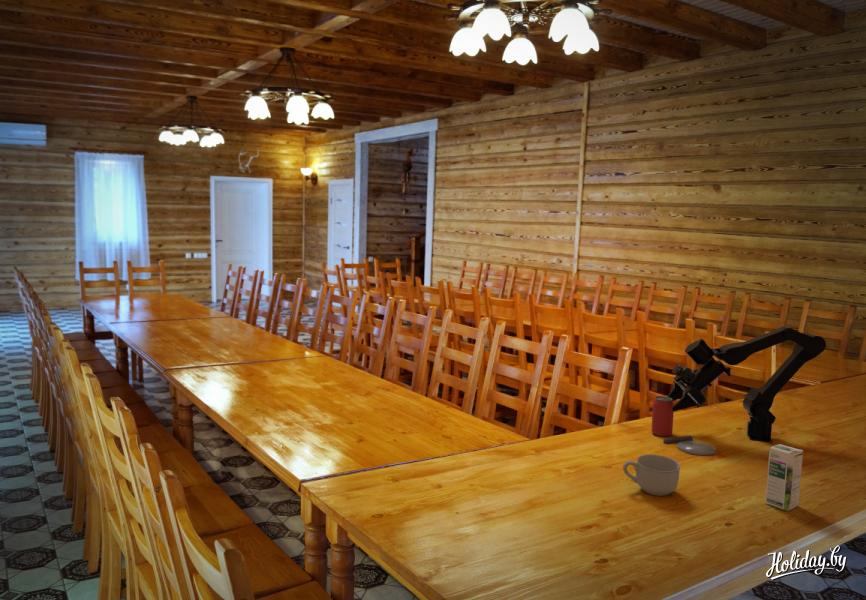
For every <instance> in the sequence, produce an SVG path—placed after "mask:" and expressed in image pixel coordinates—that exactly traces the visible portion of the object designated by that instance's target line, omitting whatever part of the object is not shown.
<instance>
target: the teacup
mask: <svg viewBox="0 0 866 600" xmlns="http://www.w3.org/2000/svg"><path fill="white" fill-rule="evenodd" d="M629 466H632V467H633V468H634V471H635V475H634V474H631V473H630V472H629V470H628V467H629ZM680 469H681V464H680V462H678V461H677V460H676V459H673V458H672V457H668V456H666V455H661V454H654V453H653V454H652V453H651V454H642V455H639V456H638V457H637V458H636V461H633V460H627V461H625V462H624V463H623V466H622V471H623V473H624V474H625V475H626V476H627V477H628V478H630V479H631V480H632V481H633V482H634V483H635V484H637V485H638V486H639V487H640V489H642V491H644V492H645V493H647V494H649V495H651V496H658V497H659V496H660V497H664V496H667V495H669V494H671V493H673V492H674V491H675V490H676V489H677V487H678V484H679V479H680Z"/></svg>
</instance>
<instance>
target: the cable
mask: <svg viewBox="0 0 866 600" xmlns="http://www.w3.org/2000/svg"><path fill="white" fill-rule="evenodd" d="M682 441H694V437H693V436H692V435H690V434H689V435H684V436H683V435H682V436H676V437H675V436H674V437H668V438H664V439H663V442H662V443H663V444H665V445H668V444H675V443H679V442H682Z"/></svg>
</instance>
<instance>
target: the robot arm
mask: <svg viewBox="0 0 866 600" xmlns="http://www.w3.org/2000/svg"><path fill="white" fill-rule="evenodd" d="M787 341H791V342H793V343H795V344H794V345H793V348H792V351H791V353H790V355H789V356H788V357H787V358H786V360H784V362H783V363H782V364H781V365H780V366H779V367H778V368H777V370H775V372H774V373H773V374H772V375H771V376H770V377H769V378H768V379H767V380H766V381H765V383H764V384H763V385H762V386H761V387H759V388H755V387H751V388H750V389H749V391H748V392H747V393H746V394H744V395H743V397H744V399H743V400H742V406H743V409H744V410H745V411H746V412H747V415H748V416H749V421H747V422H746V423H747V424H746V435H747V437H748V439H750V440H751V441H762V442H772V441H773V439H772V430H773V424H774V423H775V421H776V419H777V417H776V416H775V415H774V414H773V413H772V412H771V410H770V409H771V408H772V407H773V403H774V400H775V397H776V396H777V395H778V394H779V392H780V391H781V390H783V388H784V387H785V386H786V385H787V384H788V383H789V382H790V380H791V379H792V378H793V377H794V376H795V375H796V374H797V373H798V372H799V371H800V369H801V368H802V367H803V366H804V365H805V364H807V362H809V361H812V360H814V359H816V358H817V357H819V355H820V354H822V353H823V352H824V351H825V350H826V349H827V342H826V340H825V339H824V337H822V336H820V335H817V334H814V333H811V332H800V331H798V330H795V329H794V328H792V327H789V326H786V325H783V326H782V325H781V326H780V327H779V328H776V329H774V330H772V331H769V332H767V333H764V334H761V335H759V336H755V337H753V338H751V339H748V340H746V341H745V340H744V341H741V342H732V343H728V344H724V345H721V347H717V348H711V347H710V346H709V345H708V344H707V342H706V340H704V339H703V338H699V339H698V340H695V341H694V342H692V343H689V344H688V345H687V346H686V348H685V349H684V353H685V354H686V355H687V356H688V357H689V358H690V359H691V360H692V361H693V362H694V363H695V364H696V365H697V366H698V365H701V367H700V368H699V369H697V368H694V369H692V368H690V367H688V366H682V365H680V364H678V363H676V364H675V366H674V367H673V370H672V371H671V373H672V374H673V375H675V376H674V377H673V380H672V382H673V387H672V389H671V391H670V392H669V394H668V396H667V397H670V398H672V399H673V400H672V401H673V402H675V401H677V400H678V401H677V402H676V403H675V404H674V407H673V408H672V410H673V411H674V412H678V411H680V410H686V409H689V408H693V407H699V406H700V407H701V406H703V405H704V404H706V401H707V398H706V396H705V395H704V394H703V393H702V391H704V390H705V389H706V388H708V387H709V388H711V387H712V386H713V384H712V383H713V382H714V381H716V380H717V379H718V378H719V377H721V375H723V374H725V375H726V376H727V377H731V370H732V368H731V367H729V366H732V367H733V366H737V365H739V364H740V363H742V362H744V361H746V360H747V359H748V358H749V357H751V356H752V355H754V354H756V353H758V352H761V351H764V350H767V349H769V348H771V347H774V346H777V345H780V344H782V343H785V342H787ZM714 357H715V358H714ZM716 359H718V360H716ZM724 363H725V364H727V365H729V366H726V365H725V364H724Z"/></svg>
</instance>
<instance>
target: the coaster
mask: <svg viewBox="0 0 866 600" xmlns="http://www.w3.org/2000/svg"><path fill="white" fill-rule="evenodd" d="M676 446H677V447H676V449H678V450H679V451H681V452H682V453H685V454H689V455H694V456H713V455H715V454H716V453H717V452H716V451H717V448H716V447H715V446H714V445H712V444H709V443H707V442H702V441H696V440H690V441H682V442H677V445H676Z"/></svg>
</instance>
